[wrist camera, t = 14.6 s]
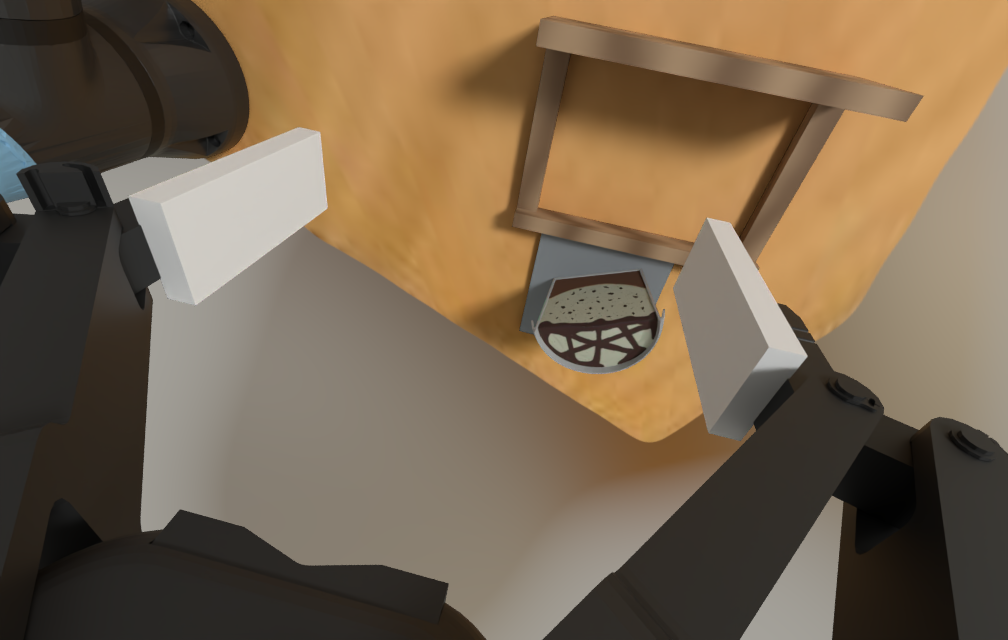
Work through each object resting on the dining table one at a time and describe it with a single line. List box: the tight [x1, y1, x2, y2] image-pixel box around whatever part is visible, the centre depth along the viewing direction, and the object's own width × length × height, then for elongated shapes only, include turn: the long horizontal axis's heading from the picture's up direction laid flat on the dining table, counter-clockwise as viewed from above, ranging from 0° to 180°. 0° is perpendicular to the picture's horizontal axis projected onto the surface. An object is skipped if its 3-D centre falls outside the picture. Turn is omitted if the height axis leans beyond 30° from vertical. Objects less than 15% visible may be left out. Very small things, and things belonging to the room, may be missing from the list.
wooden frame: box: [512, 16, 923, 270], centre depth 36 cm, size 24×18×9 cm
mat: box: [519, 233, 674, 334], centre depth 49 cm, size 14×14×1 cm
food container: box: [531, 268, 665, 374], centre depth 45 cm, size 12×6×10 cm, turn 103°
